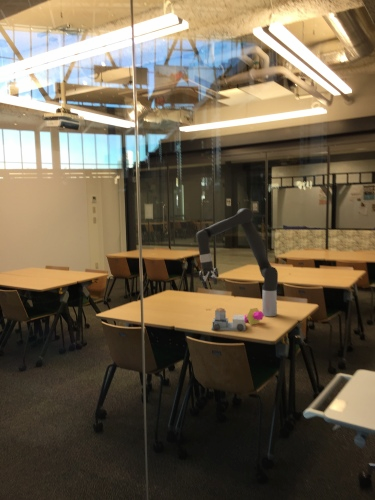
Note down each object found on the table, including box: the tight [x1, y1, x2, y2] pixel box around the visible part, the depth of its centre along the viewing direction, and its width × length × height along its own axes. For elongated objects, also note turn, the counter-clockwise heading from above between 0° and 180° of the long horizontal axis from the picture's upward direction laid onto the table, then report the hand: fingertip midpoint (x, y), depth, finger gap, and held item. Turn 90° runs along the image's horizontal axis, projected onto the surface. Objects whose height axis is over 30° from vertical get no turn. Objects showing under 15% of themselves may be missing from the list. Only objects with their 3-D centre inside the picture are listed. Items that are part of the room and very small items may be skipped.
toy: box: [244, 307, 265, 325], centre depth 257 cm, size 10×18×10 cm, turn 28°
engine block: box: [214, 307, 227, 322], centre depth 249 cm, size 4×4×10 cm
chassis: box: [211, 314, 246, 332], centre depth 248 cm, size 20×14×6 cm
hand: (210, 285), depth 264 cm, fingers open, 8 cm apart
